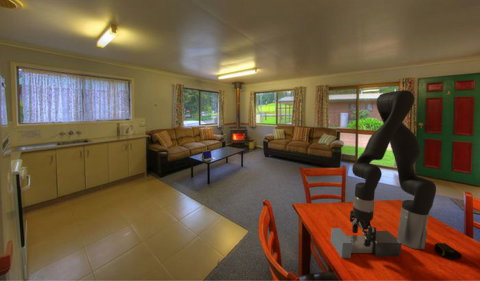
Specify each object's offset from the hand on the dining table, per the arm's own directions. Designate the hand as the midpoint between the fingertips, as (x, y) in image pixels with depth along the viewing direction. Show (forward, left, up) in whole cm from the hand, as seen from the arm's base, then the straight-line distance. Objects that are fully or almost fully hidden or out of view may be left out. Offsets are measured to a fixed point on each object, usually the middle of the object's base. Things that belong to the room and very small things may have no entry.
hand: (360, 239), depth 82 cm
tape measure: (-32, -19, -6) cm, 37 cm away
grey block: (+7, +5, -6) cm, 10 cm away
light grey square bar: (+1, 0, -6) cm, 6 cm away
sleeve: (-8, -6, -6) cm, 11 cm away
